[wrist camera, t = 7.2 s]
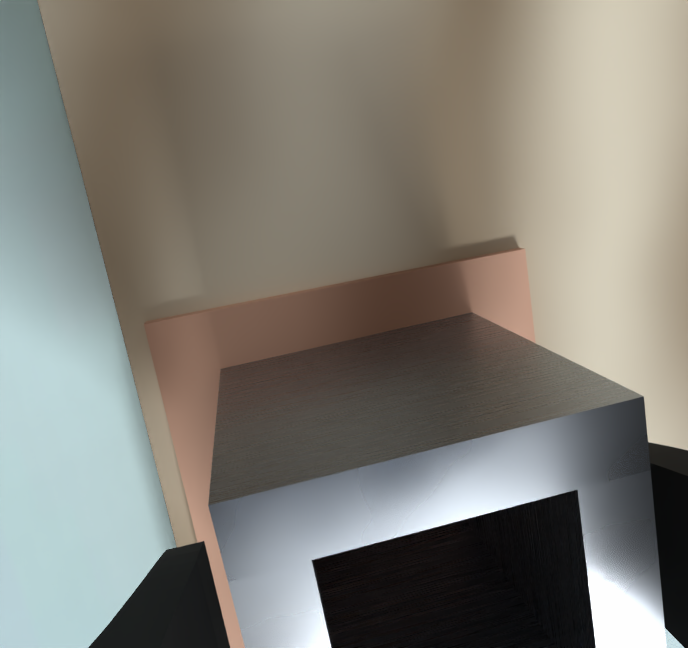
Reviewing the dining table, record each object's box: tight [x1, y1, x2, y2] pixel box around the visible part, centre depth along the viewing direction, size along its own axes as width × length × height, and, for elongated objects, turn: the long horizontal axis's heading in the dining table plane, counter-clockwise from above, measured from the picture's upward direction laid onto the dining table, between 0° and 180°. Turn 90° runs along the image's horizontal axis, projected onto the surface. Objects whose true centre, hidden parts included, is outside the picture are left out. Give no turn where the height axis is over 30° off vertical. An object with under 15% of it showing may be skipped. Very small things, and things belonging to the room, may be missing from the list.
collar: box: [208, 312, 667, 648], centre depth 11 cm, size 5×5×6 cm
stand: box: [37, 0, 688, 648], centre depth 12 cm, size 16×20×6 cm
